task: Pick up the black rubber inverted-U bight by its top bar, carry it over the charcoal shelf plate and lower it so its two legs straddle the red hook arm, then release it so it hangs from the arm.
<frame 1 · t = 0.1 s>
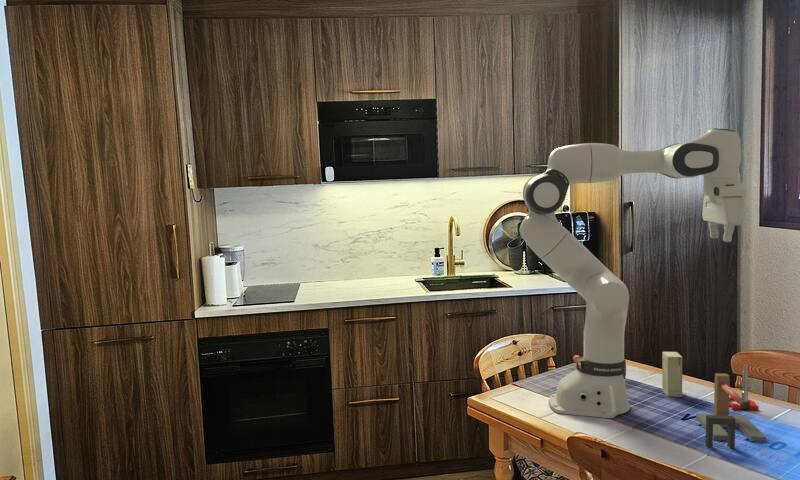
hand: (720, 239, 167), 48 cm above the table, tool pointing down, fingers open, 8 cm apart
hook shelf: (729, 429, 158), on the table
bight: (720, 446, 148), on the table
skincare box: (672, 394, 184), on the table
tow hook: (739, 405, 174), on the table
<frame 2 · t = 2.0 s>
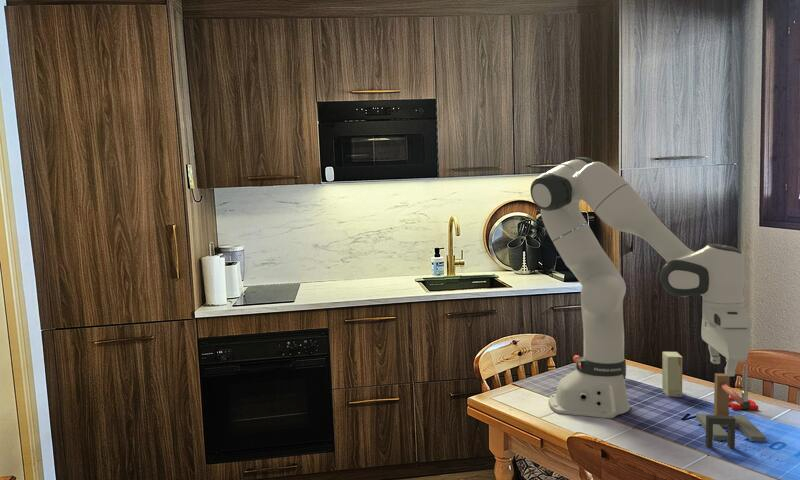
hand: (722, 369, 146), 19 cm above the table, tool pointing down, fingers open, 8 cm apart
nothing on the table moved.
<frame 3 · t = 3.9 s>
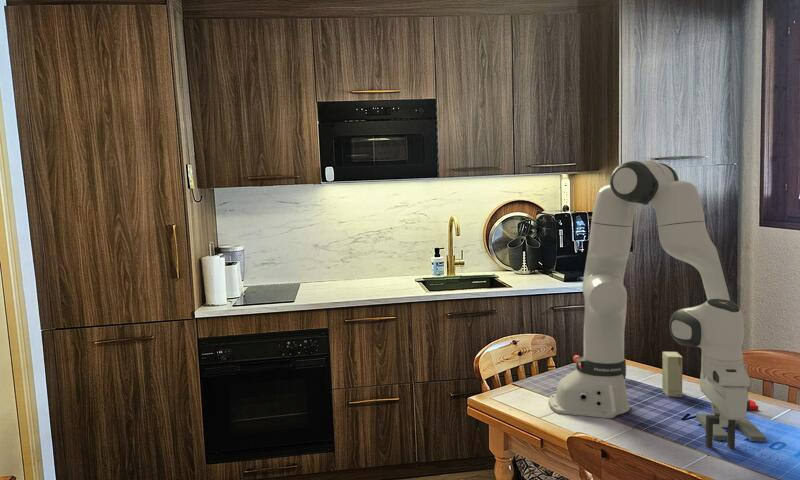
hand: (720, 423, 147), 6 cm above the table, tool pointing down, fingers closed on bight, 2 cm apart
bight: (720, 446, 148), on the table, touching gripper
everything else where it was.
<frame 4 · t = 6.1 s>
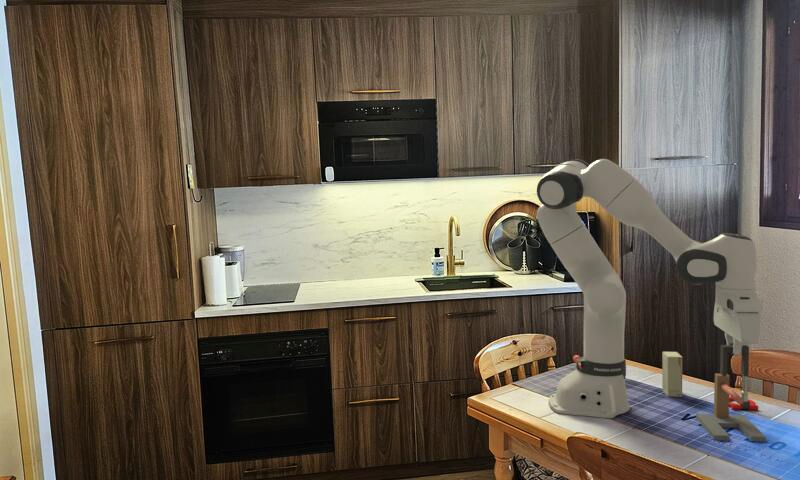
hand: (733, 352, 154), 21 cm above the table, tool pointing down, fingers closed on bight
bight: (734, 375, 154), point 15 cm above the table, touching gripper
everything else where it was.
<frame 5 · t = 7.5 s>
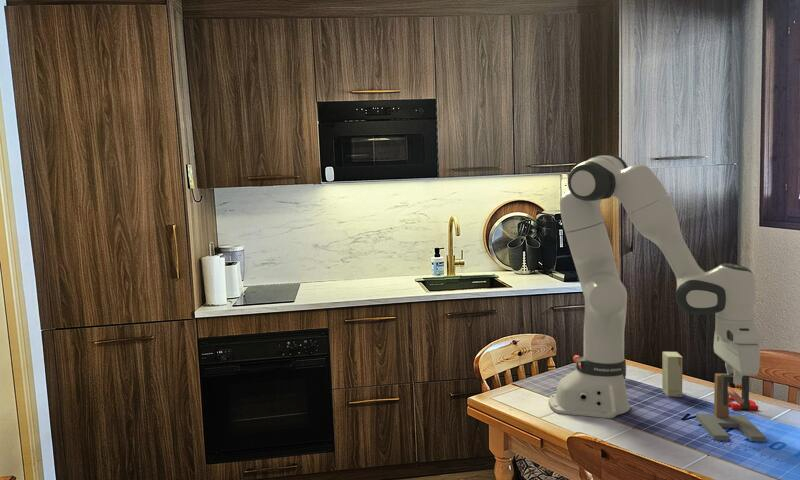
hand: (734, 381, 154), 13 cm above the table, tool pointing down, fingers closed on bight, 2 cm apart
bight: (734, 404, 155), point 7 cm above the table, touching gripper
everything else where it was.
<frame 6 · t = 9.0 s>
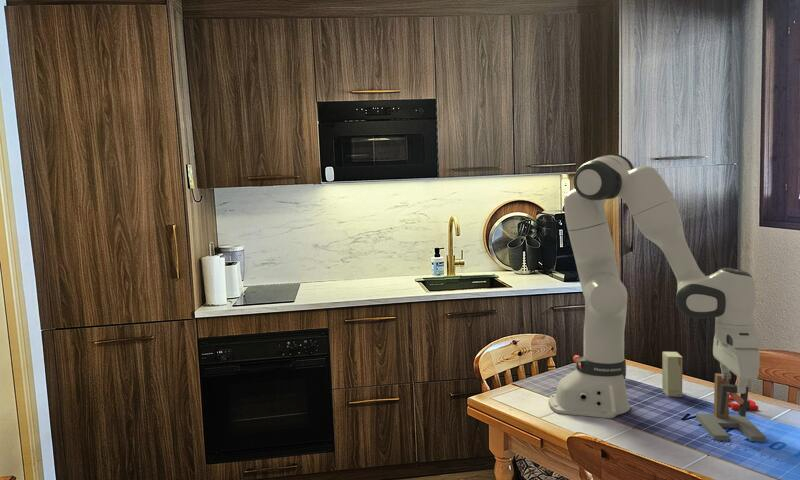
hand: (733, 386, 155), 12 cm above the table, tool pointing down, fingers open, 8 cm apart
bight: (731, 414, 155), point 5 cm above the table, touching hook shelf
everything else where it was.
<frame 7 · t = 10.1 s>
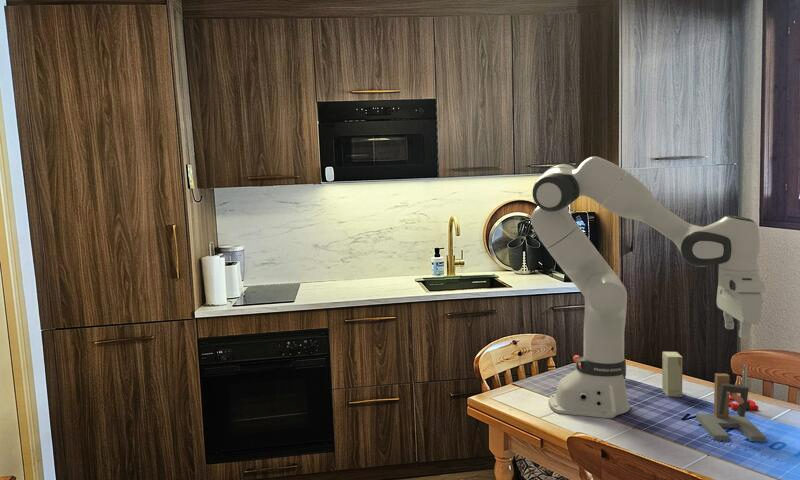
hand: (736, 333, 156), 25 cm above the table, tool pointing down, fingers open, 8 cm apart
nothing on the table moved.
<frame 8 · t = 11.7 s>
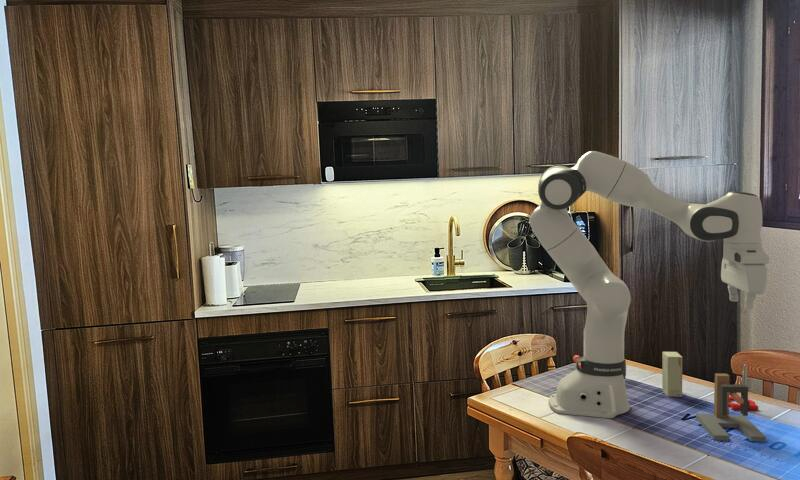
hand: (740, 304, 162), 31 cm above the table, tool pointing down, fingers open, 8 cm apart
bight: (733, 414, 155), point 5 cm above the table, touching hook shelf
everything else where it was.
at the end: bight inside the target area on the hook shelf (0.7 cm from its centre), point 4.8 cm above the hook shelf's base; bight touching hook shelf; the gripper is holding nothing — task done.
